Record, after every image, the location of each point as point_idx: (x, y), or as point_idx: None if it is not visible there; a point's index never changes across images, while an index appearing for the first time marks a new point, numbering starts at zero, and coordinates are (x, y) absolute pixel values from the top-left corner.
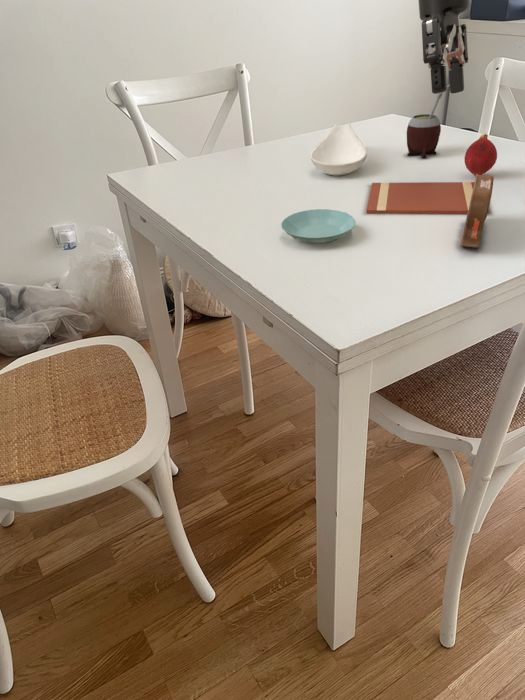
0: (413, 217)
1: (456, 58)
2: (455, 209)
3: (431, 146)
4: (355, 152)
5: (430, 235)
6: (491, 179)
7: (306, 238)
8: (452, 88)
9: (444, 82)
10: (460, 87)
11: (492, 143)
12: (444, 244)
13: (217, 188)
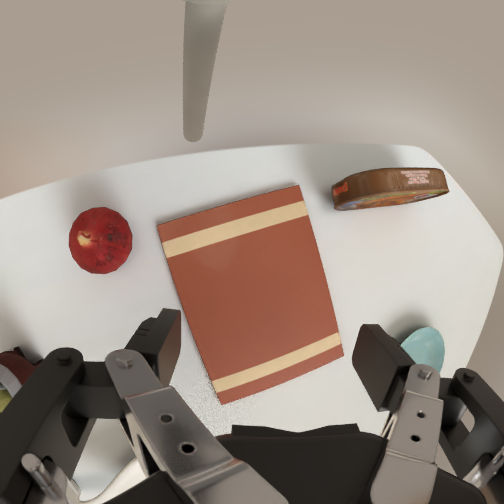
0: (339, 287)
1: (85, 410)
2: (309, 234)
3: (25, 359)
4: (134, 468)
5: (384, 245)
6: (397, 170)
7: (442, 354)
8: (177, 351)
9: (387, 335)
10: (177, 321)
11: (88, 217)
12: (399, 223)
13: None
